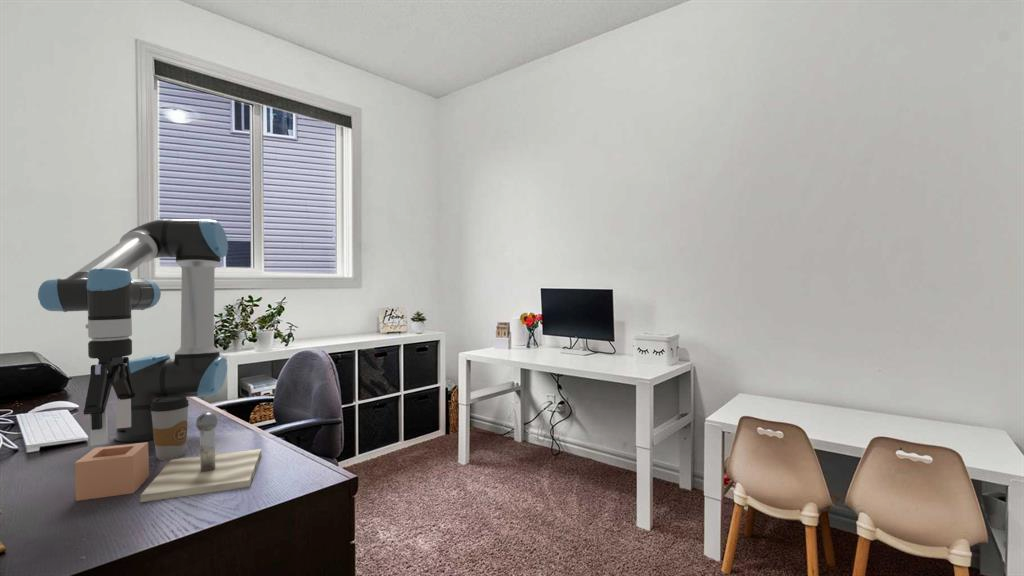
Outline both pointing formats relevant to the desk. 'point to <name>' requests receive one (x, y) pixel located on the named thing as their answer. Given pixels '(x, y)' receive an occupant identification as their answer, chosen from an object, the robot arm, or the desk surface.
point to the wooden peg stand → (204, 468)
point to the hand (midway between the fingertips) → (112, 435)
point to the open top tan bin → (111, 471)
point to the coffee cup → (170, 426)
